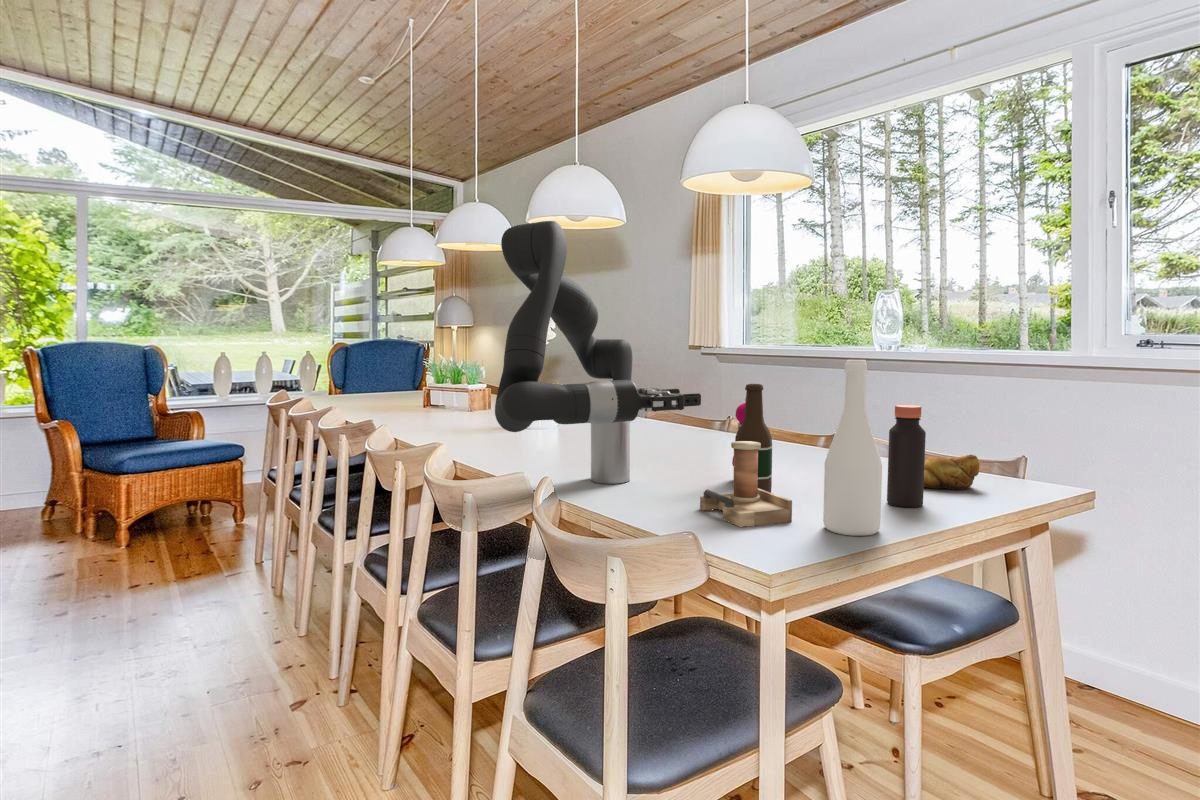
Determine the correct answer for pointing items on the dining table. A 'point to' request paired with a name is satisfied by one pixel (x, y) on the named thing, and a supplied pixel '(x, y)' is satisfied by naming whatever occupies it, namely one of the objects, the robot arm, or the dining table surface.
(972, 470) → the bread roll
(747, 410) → the beer bottle
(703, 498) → the wooden tray with handle
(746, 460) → the bobbin
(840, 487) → the wine bottle
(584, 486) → the dining table surface
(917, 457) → the vinegar
